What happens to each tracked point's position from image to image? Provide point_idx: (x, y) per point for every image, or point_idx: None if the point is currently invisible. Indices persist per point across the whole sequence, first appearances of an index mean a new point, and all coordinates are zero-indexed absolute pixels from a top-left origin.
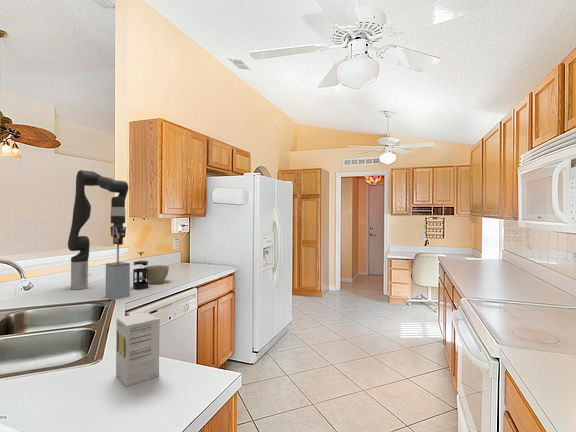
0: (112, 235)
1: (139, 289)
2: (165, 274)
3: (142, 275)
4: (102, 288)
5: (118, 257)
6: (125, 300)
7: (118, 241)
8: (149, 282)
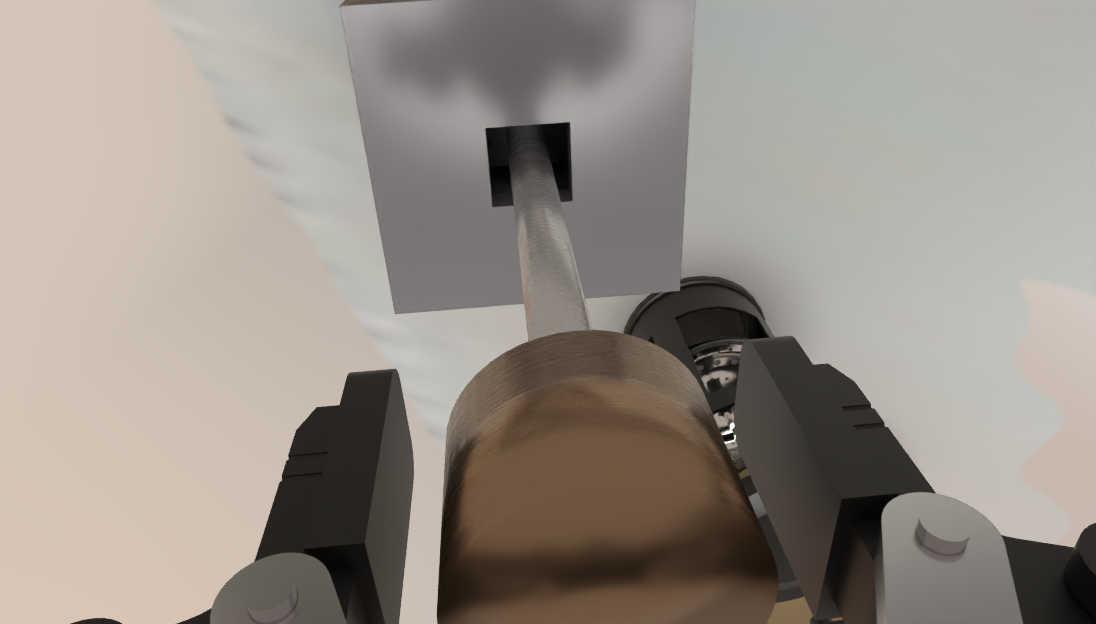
0: (1077, 585)
1: (638, 307)
2: None
3: None
4: (1022, 74)
5: (515, 217)
6: (249, 16)
7: (367, 440)
8: None
